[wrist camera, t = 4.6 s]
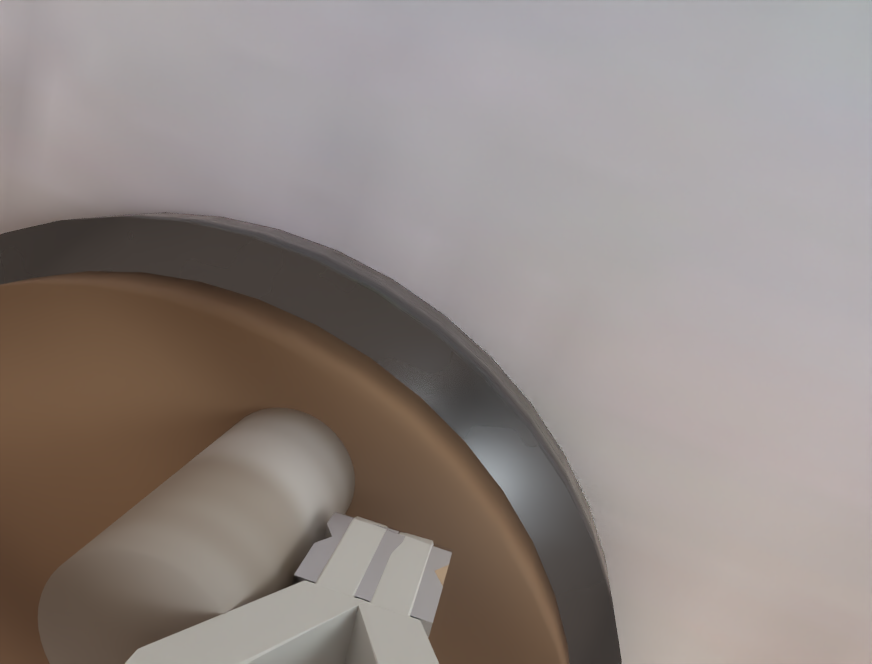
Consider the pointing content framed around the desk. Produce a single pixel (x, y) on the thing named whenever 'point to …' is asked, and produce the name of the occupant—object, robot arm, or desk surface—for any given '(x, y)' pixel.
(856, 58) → the desk surface
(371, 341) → the wheel base
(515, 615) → the disc
